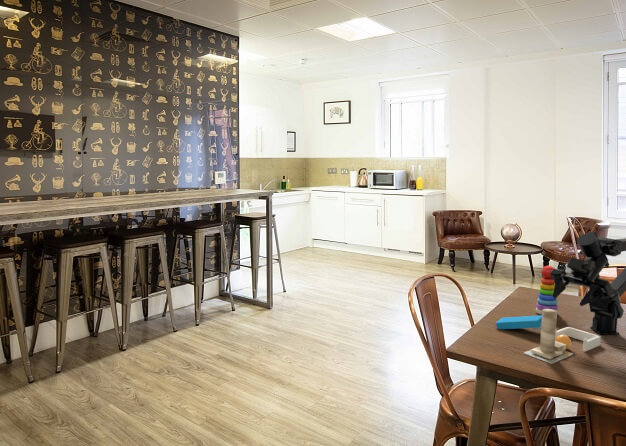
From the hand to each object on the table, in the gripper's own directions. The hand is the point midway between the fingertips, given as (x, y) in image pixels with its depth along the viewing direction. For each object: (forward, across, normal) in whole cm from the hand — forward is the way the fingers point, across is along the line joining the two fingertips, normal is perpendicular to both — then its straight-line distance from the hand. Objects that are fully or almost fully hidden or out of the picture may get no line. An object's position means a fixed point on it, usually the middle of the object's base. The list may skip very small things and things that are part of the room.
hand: (566, 301), depth 154 cm
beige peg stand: (+17, +3, +4) cm, 18 cm away
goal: (+6, +1, +14) cm, 15 cm away
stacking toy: (-8, -22, +26) cm, 35 cm away
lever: (+10, -13, +11) cm, 20 cm away
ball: (+10, +2, +7) cm, 13 cm away
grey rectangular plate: (+19, +3, +3) cm, 19 cm away
